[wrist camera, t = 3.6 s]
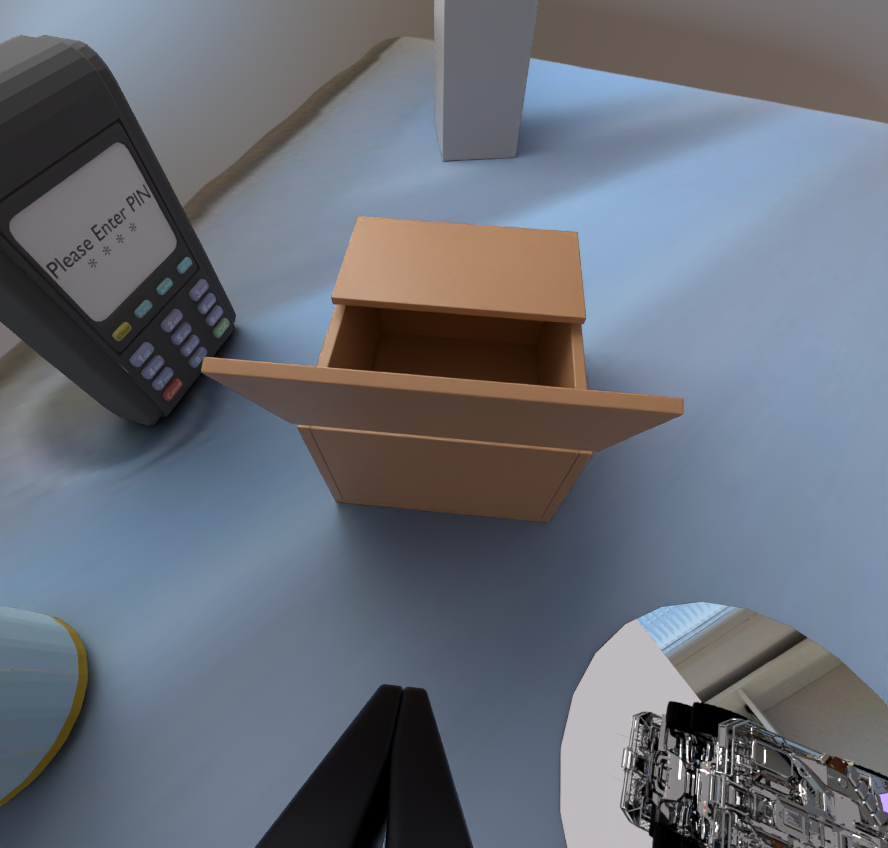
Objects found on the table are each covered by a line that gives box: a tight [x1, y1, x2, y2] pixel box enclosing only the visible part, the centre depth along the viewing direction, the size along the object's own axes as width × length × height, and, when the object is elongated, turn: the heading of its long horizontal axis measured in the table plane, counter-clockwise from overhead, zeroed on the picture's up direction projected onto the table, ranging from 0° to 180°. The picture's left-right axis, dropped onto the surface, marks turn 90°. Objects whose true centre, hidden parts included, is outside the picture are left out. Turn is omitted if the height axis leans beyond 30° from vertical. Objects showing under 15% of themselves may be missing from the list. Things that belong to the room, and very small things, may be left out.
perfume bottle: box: [434, 0, 538, 161], centre depth 34 cm, size 7×7×18 cm
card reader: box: [0, 35, 236, 425], centre depth 21 cm, size 9×4×15 cm, turn 163°
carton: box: [297, 216, 593, 523], centre depth 22 cm, size 12×11×8 cm
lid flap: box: [201, 357, 683, 452], centre depth 13 cm, size 6×11×1 cm
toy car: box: [560, 602, 888, 848], centre depth 14 cm, size 15×15×5 cm
